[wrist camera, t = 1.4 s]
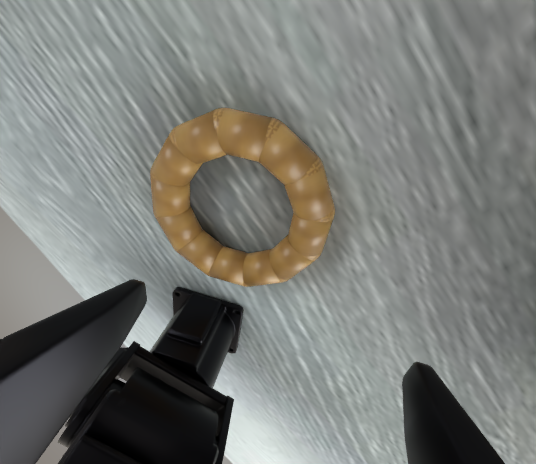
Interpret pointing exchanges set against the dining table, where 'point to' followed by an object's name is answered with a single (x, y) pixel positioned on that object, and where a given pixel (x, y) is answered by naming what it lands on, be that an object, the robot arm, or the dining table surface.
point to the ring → (275, 161)
